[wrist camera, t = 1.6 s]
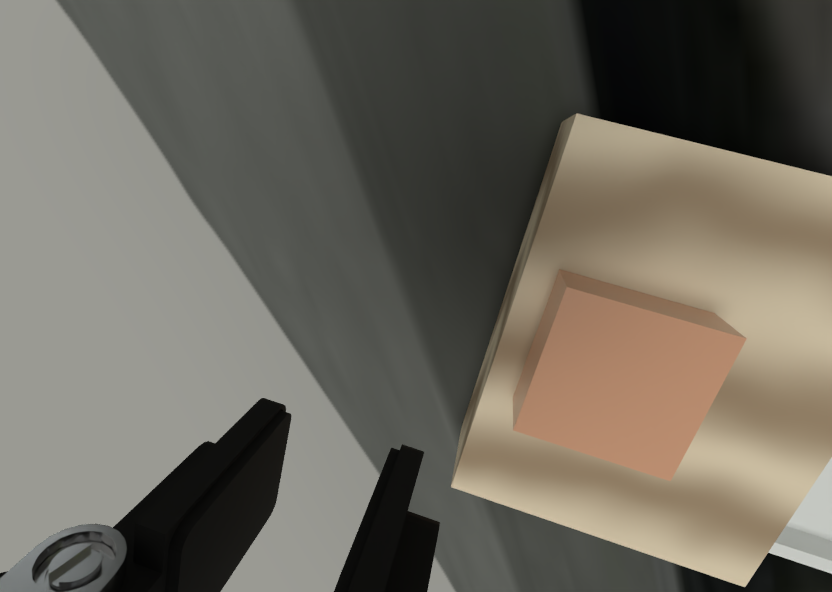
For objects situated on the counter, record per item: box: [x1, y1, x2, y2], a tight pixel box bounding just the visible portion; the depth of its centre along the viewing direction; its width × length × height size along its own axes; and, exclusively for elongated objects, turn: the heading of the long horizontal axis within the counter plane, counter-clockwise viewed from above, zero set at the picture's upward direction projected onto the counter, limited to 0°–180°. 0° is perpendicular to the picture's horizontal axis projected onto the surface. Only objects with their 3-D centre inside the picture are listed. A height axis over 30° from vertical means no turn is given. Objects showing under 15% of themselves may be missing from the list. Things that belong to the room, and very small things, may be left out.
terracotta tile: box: [513, 269, 747, 481], centre depth 21 cm, size 7×7×3 cm
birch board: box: [451, 114, 832, 587], centre depth 25 cm, size 20×16×6 cm
